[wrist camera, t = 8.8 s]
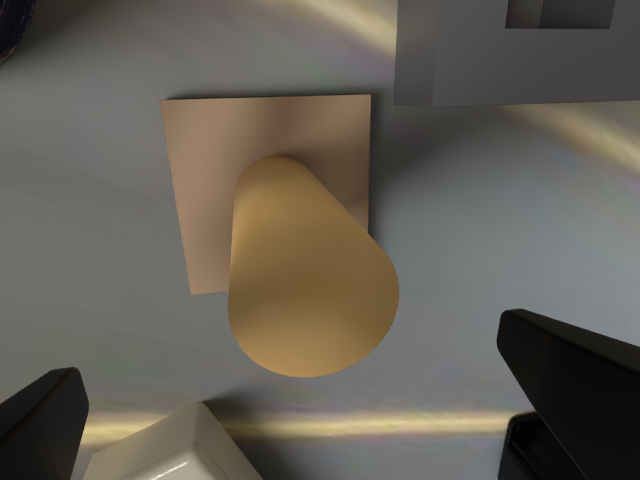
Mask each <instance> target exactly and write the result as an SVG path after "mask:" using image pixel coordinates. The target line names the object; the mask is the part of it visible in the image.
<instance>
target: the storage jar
mask: <svg viewBox="0 0 640 480" xmlns="http://www.w3.org/2000/svg"><path fill="white" fill-rule="evenodd" d="M34 5H35V0H0V64H1V63H2V62H3V61H4V60H5V59H6V58H7V57H9V56H10V55H11V54H12V53H13V52H14V50H15V49H16V47H17V46H18V44H19V43H20V41H21V40H22V39H23V37H24V35H25V33H26V30H27V28H28V26H29V23H30V21H31V18H32V14H33V9H34Z"/></svg>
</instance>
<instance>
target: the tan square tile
mask: <svg viewBox="0 0 640 480" xmlns="http://www.w3.org/2000/svg"><path fill="white" fill-rule="evenodd" d="M159 101H160V107H161V113H162V120H163V126H164V132H165V138H166V144H167V150H168V156H169V163H170V169H171V175H172V181H173V187H174V193H175V199H176V205H177V212H178V218H179V224H180V230H181V236H182V242H183V248H184V255H185V261H186V267H187V273H188V279H189V285H190V291H191V295H196V294H205V293H214V292H223V291H229V284H230V265H231V247H232V228H233V210H234V194H235V188H236V184H237V182H238V180H239V178H240V176H241V175H242V173H243V172H244V171H245V170H246V169H247V168H248V167H249V166H250V165H251V164H253V163H254V162H256V161H258V160H260V159H262V158H265V157H269V156H285V157H289V158H292V159H295V160H297V161H299V162H300V163H302V164H303V165H305V166H306V167H307V168H308V169H309V170H310V171H311V172H312V173H313V175H314V176H315V177H316V178H317V179H318V180H319V181H320V182H321V183H322V184H323V185H324V186H325V188H326V189H327V190H328V191H329V192H330V193H331V194H332V195H333V196H334V197H335V198H336V199H337V201H338V202H339V203H340V204H341V205H342V206H343V207H344V208H345V209H346V210H347V211H348V212H349V214H350V215H351V216H352V217H353V218H354V219H355V220H356V221H357V222H358V223H359V224H360V225H361V227H362V228H363V229H364V230H365V231H366V232H367V233H368V204H369V158H370V112H371V95H329V96H292V97H255V98H218V99H181V100H159Z"/></svg>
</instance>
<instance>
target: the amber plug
mask: <svg viewBox="0 0 640 480" xmlns="http://www.w3.org/2000/svg"><path fill="white" fill-rule="evenodd" d="M398 301H399V285H398V278H397V275H396V272H395V268H394V266H393V264H392V262H391V260H390V259H389V257H388V256H387V254H386V253H385V251H384V250H383V249H382V248H381V247H380V246H379V245H378V244H377V243H376V242H375V241H374V240H373V238H372V237H371V236H370V235H369V234H368V233H367V232H366V231H365V230H364V229H363V228H362V227H361V225H360V224H359V223H358V222H357V221H356V220H355V219H354V218H353V217H352V216H351V215H350V214H349V212H348V211H347V210H346V209H345V208H344V207H343V206H342V205H341V204H340V203H339V202H338V201H337V199H336V198H335V197H334V196H333V195H332V194H331V193H330V192H329V191H328V190H327V189H326V188H325V186H324V185H323V184H322V183H321V182H320V181H319V180H318V179H317V178H316V177H315V176H314V175H313V173H312V172H311V171H310V170H309V169H308V168H307V167H306V166H305V165H303V164H302V163H300V162H299V161H297V160H295V159H292V158H289V157H285V156H269V157H265V158H262V159H260V160H258V161H256V162H254V163H253V164H251V165H250V166H249V167H248V168H247V169H246V170H245V171H244V172H243V173H242V175H241V176H240V178H239V180H238V182H237V184H236V188H235V194H234V210H233V228H232V247H231V265H230V284H229V302H228V313H229V321H230V326H231V329H232V332H233V335H234V337H235V339H236V341H237V342H238V344H239V346H240V347H241V348H242V349H243V351H244V352H245V353H246V354H247V355H248V356H249V357H250V358H251V359H252V360H253V361H255V362H256V363H258V364H259V365H260V366H262V367H264V368H266V369H268V370H270V371H273V372H276V373H278V374H282V375H286V376H292V377H318V376H323V375H328V374H332V373H335V372H338V371H341V370H343V369H345V368H348V367H350V366H351V365H353V364H355V363H357V362H358V361H360V360H361V359H363V358H364V357H365V356H367V355H368V354H369V353H370V352H371V351H372V350H373V349H375V347H376V346H377V345H378V344H379V343H380V342H381V341H382V339H383V338H384V336H385V335H386V334H387V332H388V330H389V328H390V327H391V325H392V322H393V320H394V318H395V315H396V311H397V307H398Z"/></svg>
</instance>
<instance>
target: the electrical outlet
mask: <svg viewBox="0 0 640 480" xmlns="http://www.w3.org/2000/svg"><path fill="white" fill-rule="evenodd" d="M83 480H263V479H262V477H261V476H260V475H259V474H258V472H257V471H256V470H255V468H254V467H253V466H252V465H251V463H250V462H249V461H248V459H247V458H246V457H245V455H244V454H243V453H242V452H241V450H240V449H239V448H238V446H237V445H236V444H235V443H234V441H233V440H232V439H231V437H230V436H229V435H228V433H227V432H226V431H225V430H224V428H223V427H222V426H221V424H220V423H219V422H218V420H217V419H216V418H215V417H214V415H213V414H212V413H211V411H210V410H209V409H208V408H207V406H206V405H205V404H204V403H202V402H198V403H196V404H194V405H192V406H190V407H188V408H186V409H184V410H181V411H179V412H177V413H175V414H173V415H171V416H169V417H167V418H165V419H163V420H161V421H159V422H157V423H155V424H153V425H151V426H149V427H147V428H145V429H143V430H141V431H139V432H137V433H135V434H133V435H131V436H129V437H127V438H125V439H123V440H120V441H118V442H116V443H114V444H112V445H110V446H108V447H106V448H104V449H102V450H100V451H98V452H96V453H94V454H93V456H92V458H91V460H90V463H89V465H88V468H87V470H86V473H85V475H84V478H83Z"/></svg>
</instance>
